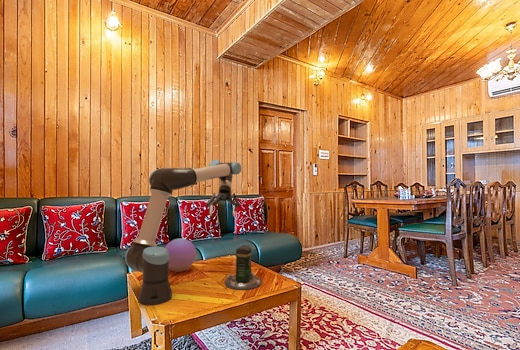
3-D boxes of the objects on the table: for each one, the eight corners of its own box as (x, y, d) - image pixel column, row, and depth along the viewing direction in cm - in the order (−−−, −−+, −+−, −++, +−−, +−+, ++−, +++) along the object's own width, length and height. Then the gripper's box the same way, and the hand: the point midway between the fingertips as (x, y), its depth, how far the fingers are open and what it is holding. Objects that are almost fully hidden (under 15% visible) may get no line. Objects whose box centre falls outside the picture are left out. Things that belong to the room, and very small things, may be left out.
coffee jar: (248, 283, 151) (248, 248, 151) (233, 282, 153) (234, 247, 153) (253, 277, 160) (253, 244, 161) (239, 276, 162) (239, 243, 163)
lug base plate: (217, 285, 153) (217, 279, 153) (238, 274, 170) (238, 269, 170) (248, 292, 143) (248, 286, 143) (267, 280, 160) (267, 275, 160)
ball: (171, 265, 188) (171, 234, 188) (200, 266, 185) (200, 236, 185) (156, 275, 168) (156, 241, 168) (188, 277, 165) (188, 242, 165)
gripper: (244, 192, 187) (243, 218, 172) (206, 192, 187) (201, 218, 172) (244, 184, 182) (242, 211, 167) (205, 184, 182) (200, 210, 167)
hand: (222, 214), depth 169 cm, fingers open, 13 cm apart
